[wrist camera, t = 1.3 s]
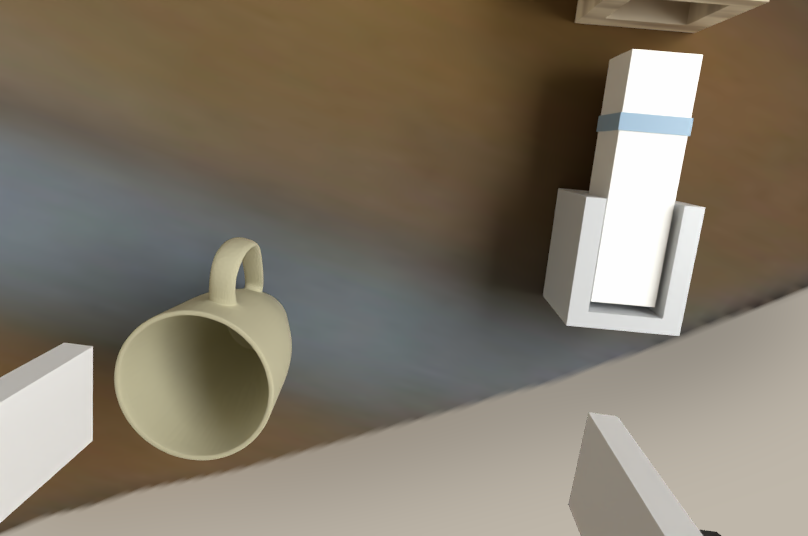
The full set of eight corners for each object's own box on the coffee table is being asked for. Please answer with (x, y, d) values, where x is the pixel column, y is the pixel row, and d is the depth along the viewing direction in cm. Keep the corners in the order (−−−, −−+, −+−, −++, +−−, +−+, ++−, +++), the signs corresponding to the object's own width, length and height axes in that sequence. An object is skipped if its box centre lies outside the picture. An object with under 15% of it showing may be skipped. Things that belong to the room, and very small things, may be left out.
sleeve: (558, 188, 40) (586, 196, 33) (656, 196, 39) (705, 207, 33) (542, 295, 41) (566, 325, 34) (636, 304, 41) (679, 335, 34)
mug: (345, 343, 43) (316, 418, 31) (234, 393, 44) (165, 483, 32) (279, 215, 41) (220, 243, 29) (164, 271, 42) (63, 319, 30)
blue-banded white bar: (607, 59, 36) (631, 48, 31) (673, 65, 35) (705, 54, 31) (572, 285, 39) (589, 301, 35) (632, 290, 39) (657, 307, 35)
